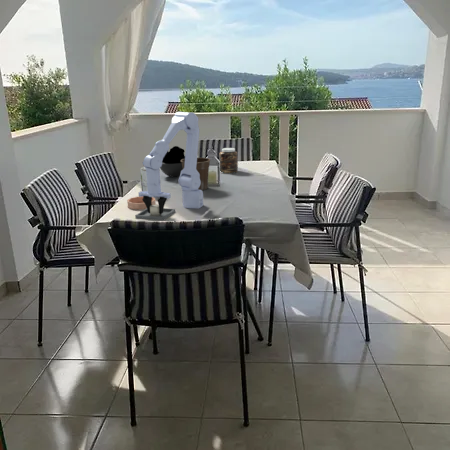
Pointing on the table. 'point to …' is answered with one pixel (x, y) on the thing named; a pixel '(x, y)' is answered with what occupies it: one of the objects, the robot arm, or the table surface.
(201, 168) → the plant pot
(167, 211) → the tray
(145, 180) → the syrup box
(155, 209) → the cream cup
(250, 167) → the table surface
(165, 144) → the robot arm
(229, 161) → the jar
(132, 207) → the bowl
